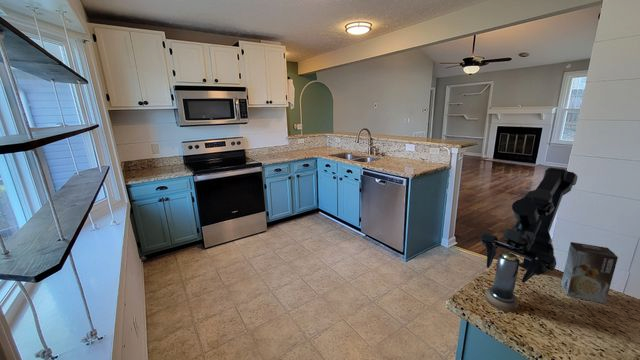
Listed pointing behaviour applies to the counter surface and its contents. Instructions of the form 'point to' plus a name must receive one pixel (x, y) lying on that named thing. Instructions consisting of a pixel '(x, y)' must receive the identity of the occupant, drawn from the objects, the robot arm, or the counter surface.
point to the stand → (500, 304)
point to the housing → (505, 278)
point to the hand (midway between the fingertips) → (504, 274)
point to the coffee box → (588, 272)
